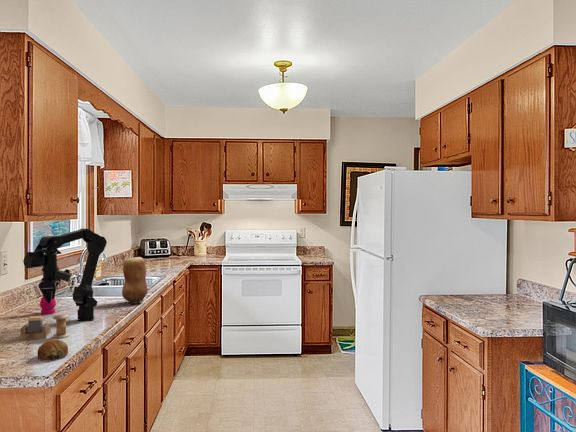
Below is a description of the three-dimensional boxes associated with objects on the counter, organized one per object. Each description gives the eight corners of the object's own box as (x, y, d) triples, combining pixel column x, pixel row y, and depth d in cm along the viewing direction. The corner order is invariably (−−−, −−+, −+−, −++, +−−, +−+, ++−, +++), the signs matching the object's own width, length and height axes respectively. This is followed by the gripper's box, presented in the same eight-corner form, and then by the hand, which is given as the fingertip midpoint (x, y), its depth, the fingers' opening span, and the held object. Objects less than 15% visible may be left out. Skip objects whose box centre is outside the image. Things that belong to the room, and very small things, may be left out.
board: (51, 331, 215) (50, 321, 215) (45, 338, 205) (45, 327, 205) (27, 332, 213) (27, 322, 213) (20, 339, 202) (20, 328, 202)
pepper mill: (51, 311, 256) (51, 271, 256) (58, 313, 252) (58, 272, 251) (37, 313, 251) (36, 272, 250) (44, 315, 246) (43, 274, 246)
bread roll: (70, 364, 184) (74, 341, 187) (60, 359, 174) (63, 336, 178) (42, 364, 183) (46, 341, 187) (30, 360, 174) (34, 336, 177)
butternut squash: (118, 302, 279) (118, 256, 279) (142, 299, 287) (142, 255, 287) (127, 306, 268) (127, 259, 268) (152, 303, 276) (152, 257, 276)
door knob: (70, 334, 211) (70, 313, 211) (67, 337, 205) (67, 317, 205) (54, 335, 210) (54, 314, 209) (51, 338, 204) (51, 317, 204)
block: (30, 331, 208) (30, 316, 208) (42, 330, 209) (42, 315, 209) (28, 333, 205) (28, 318, 205) (40, 332, 206) (40, 317, 206)
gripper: (66, 267, 215) (68, 304, 215) (72, 261, 232) (73, 295, 233) (37, 268, 211) (39, 306, 212) (45, 262, 229) (47, 297, 230)
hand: (51, 301), depth 222 cm, fingers open, 9 cm apart
